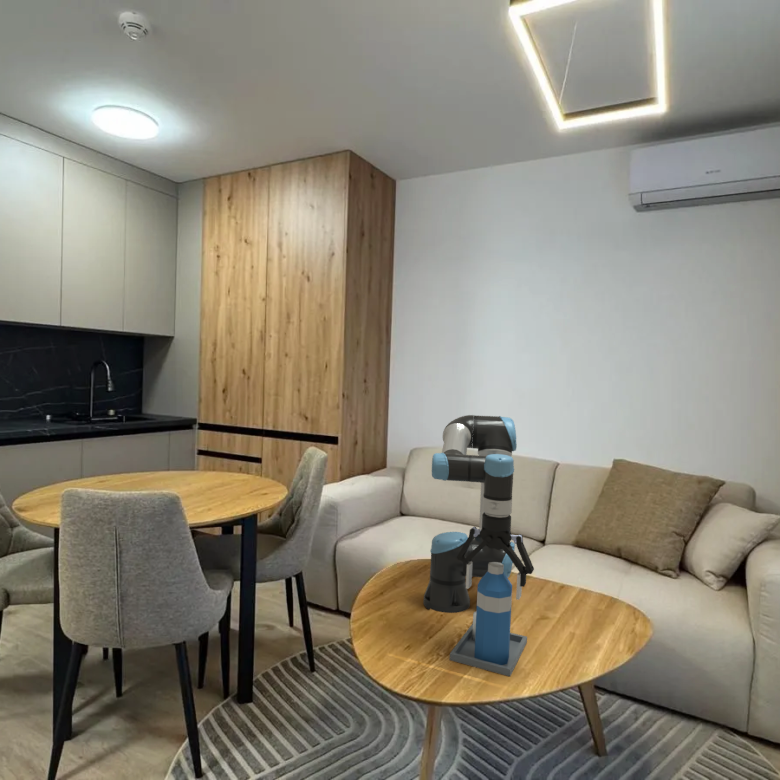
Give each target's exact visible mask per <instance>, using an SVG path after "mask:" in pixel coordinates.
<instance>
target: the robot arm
mask: <svg viewBox="0 0 780 780" xmlns="http://www.w3.org/2000/svg"><path fill="white" fill-rule="evenodd" d="M515 426H516V425H515V421H514V420H513V419H512V418H511V417H507V416H501V415H499V416H496V415H495V416H493V415H475V414H468V415H462V416H459V417H457V418H455V419H453V420H451V421H450V422H448V424H447V425H446V426H445V427H444V429H443V432H442V440H443V446H442V449H441V452H435V453H433V455H432V460H431V476H432V478H433V479H434V480H441V481H450V482H451V481H452V482H468V483H469V482H471V483H480V501H479V503H480V504H479V526H478V527H479V528H477V527H476V526H473V527H470V529H469V534H468V535H467V533H465V532H461V531H447V532H442V533H438V534H436V535H434V536H433V538H432V540H431V547H430V568H429V569H430V570H429V581H428V584H427V587H426V589H425V593H424V594H423V605H424V607H425V608H426V609H427V610H429V611H430V610H433V611H434V612H440V613H446V614H450V613H451V614H456V613H461V612H465V611H467V610H469V608H470V606H471V598H470V596H469V591H468V589H469V588H471V587H472V585H473V584H472V583H473V581H472V579H473V578H482V577H483V576H484V575H485V574H486V572H487V571H488V564H489V563H490V562H498V563H501V564H503V565H504V569H503V572H504V574H505V575H506V577H507V578H508V579H509V578H510V576H511V573H512V569H513V565H514V567H515V568H516V569H517V571H518V573H517V575H516V577H517V578H516V592H515V594H516V596H515V599H516V600H518V601H520V599H521V597H522V592H523V591H522V590H523V589H522V588H524V587H525V586H526V584H527V575H532V574H533V572H534V571H535V568H534V565H533V563H532V561H531V558H530V555H529V553H528V551H527V549H526V546H525V544H524V537H523V534H522V533H519V534H518V535H517V534H516V535H515V534H512V531H511V529H512V516H511V514H512V510H513V509H512V508H513V487H514V472H515V465H514V464H515V463H514V461H515V460H514V458H513V457H512V456H513V452H515V451H517V432H516V427H515ZM468 449H476V450H477V455H475V454H474V455H473V454H472V455H470V454H467V451H468ZM515 546H516V547H515ZM515 548H517V550H518V553H519V555H520V557H519V556H518V555H517V554H516V552H515ZM520 558H521V559H520Z"/></svg>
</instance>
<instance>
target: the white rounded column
mask: <svg viewBox="0 0 780 780" xmlns="http://www.w3.org/2000/svg"><path fill="white" fill-rule="evenodd" d="M472 616H473V617H472V624H473V632H472V639H473V640H474V641H475V633H476V611H474V612H473V614H472Z"/></svg>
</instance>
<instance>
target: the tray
mask: <svg viewBox="0 0 780 780" xmlns="http://www.w3.org/2000/svg"><path fill="white" fill-rule="evenodd" d="M472 632H473V623H471V625H470V626H469V627H468V629H467V630H466V631H465V633H464V634H463V636H462V637H461V638H460V639H459V640H458V642H457V644H456V645H455V646H454V647H453V649H452V650H451V651H450V653H449V661H451V662H456V663H459V664H463V665H467V666H469V667H473V668H477V669H481V670H485V671H488V672H492V673H495V674H499V675H502V676H507V677H511V676H512V674H513V672H514V671H515V667H516V665H517V664H518V661H519V659H520V657H521V655H522V653H523V652H524V649H525V647H526V645H527V644H528V643H527V642H528V636H527V635H526V636H525V635H522V634H518V633H513V632H510V645H509V659H508V663H507V664H504V665H498V664H495V663H491V662H487V661H483V660H480V659H476V658H475V657H474V655H475V641H474V640H473V639H472Z"/></svg>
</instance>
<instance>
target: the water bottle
mask: <svg viewBox="0 0 780 780" xmlns="http://www.w3.org/2000/svg"><path fill="white" fill-rule="evenodd" d="M503 569H504V565H503V564H501V563H498V562H490V563H489V564H488V571H487V572H486V574H485V575H484V576H483V577H480V579H479V581H478V583H477V590H476V591H477V592H476V593H477V595H476V611H475V612H476V633H475V655H474V657H475V658H476V659H480V660H483V661H487V662H491V663H495V664H498V665H504V664H507V663H508V659H509V645H510V633H511V623H512V622H511V621H512V620H511V619H512V618H511V617H512V602H513V601H512V599H513V584H512V582H511V581H510V579H509V577H508V578H507V577H506V575H505V574H504V572H503Z"/></svg>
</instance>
